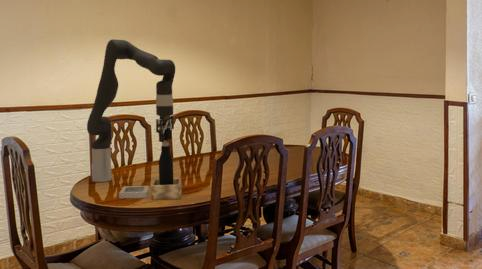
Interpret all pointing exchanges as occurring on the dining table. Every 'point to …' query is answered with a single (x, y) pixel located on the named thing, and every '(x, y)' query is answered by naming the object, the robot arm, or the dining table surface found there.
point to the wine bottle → (165, 162)
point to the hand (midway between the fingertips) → (165, 140)
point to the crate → (166, 190)
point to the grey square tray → (134, 192)
